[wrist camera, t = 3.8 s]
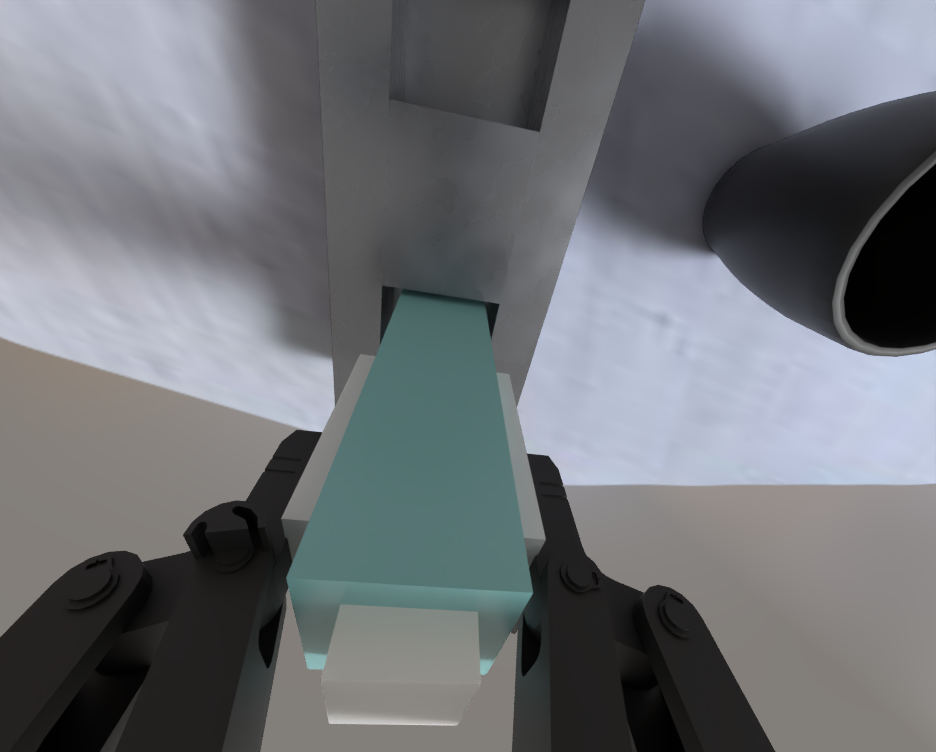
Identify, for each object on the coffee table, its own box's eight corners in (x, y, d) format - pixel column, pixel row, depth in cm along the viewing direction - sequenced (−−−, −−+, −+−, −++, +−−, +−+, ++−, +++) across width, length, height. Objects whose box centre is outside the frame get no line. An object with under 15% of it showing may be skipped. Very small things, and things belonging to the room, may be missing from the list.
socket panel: (355, -184, 12) (297, -377, 7) (630, -98, 13) (716, -223, 8) (357, 365, 23) (335, 412, 19) (499, 384, 24) (508, 431, 20)
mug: (855, 274, 21) (1105, 348, 13) (659, 283, 21) (786, 363, 13) (956, 101, 16) (1439, 51, 8) (706, 113, 16) (947, 72, 8)
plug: (404, 283, 17) (253, 657, 4) (483, 296, 17) (546, 668, 5) (399, 352, 19) (288, 734, 7) (470, 362, 20) (489, 736, 7)
